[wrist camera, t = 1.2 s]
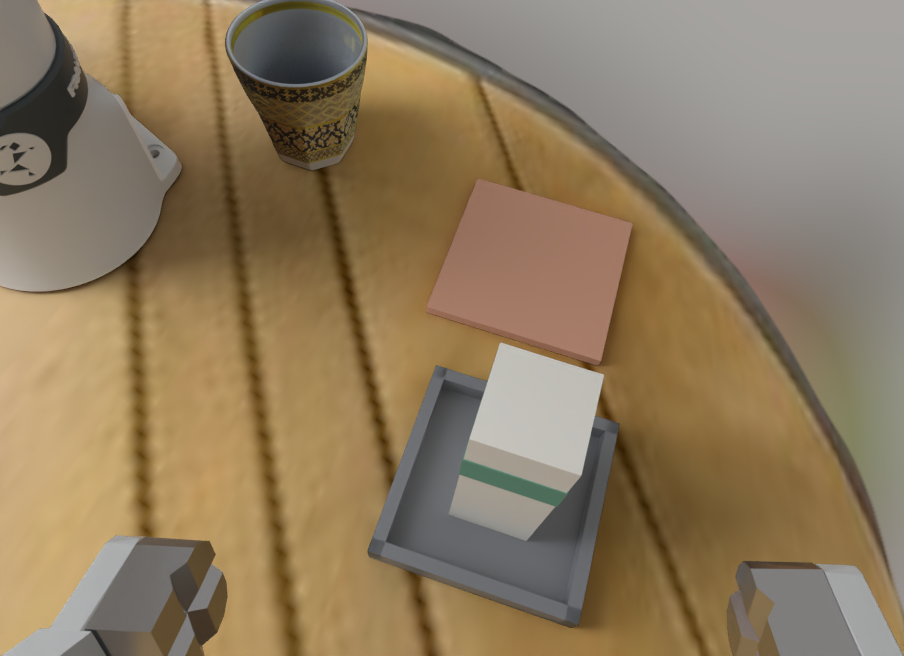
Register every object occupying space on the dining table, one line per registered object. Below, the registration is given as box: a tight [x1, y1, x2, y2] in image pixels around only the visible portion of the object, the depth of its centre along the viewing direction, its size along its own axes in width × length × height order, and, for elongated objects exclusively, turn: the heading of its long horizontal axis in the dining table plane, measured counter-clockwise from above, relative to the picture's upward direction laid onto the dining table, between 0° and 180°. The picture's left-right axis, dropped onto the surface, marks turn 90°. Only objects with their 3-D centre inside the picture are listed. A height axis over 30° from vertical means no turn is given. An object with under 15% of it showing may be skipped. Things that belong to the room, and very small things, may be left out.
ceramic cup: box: [225, 0, 368, 170], centre depth 52 cm, size 13×10×10 cm
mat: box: [426, 178, 633, 366], centre depth 50 cm, size 13×13×1 cm
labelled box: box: [449, 342, 604, 541], centre depth 35 cm, size 5×5×14 cm
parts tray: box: [368, 365, 619, 628], centre depth 41 cm, size 13×13×2 cm
